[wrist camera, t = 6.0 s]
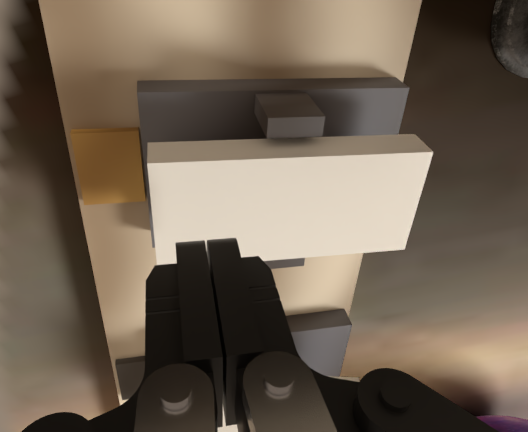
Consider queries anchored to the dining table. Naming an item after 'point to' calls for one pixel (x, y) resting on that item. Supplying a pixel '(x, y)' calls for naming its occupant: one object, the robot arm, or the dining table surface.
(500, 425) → the decorative orb
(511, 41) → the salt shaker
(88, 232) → the switch board
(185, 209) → the block
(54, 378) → the dining table surface
